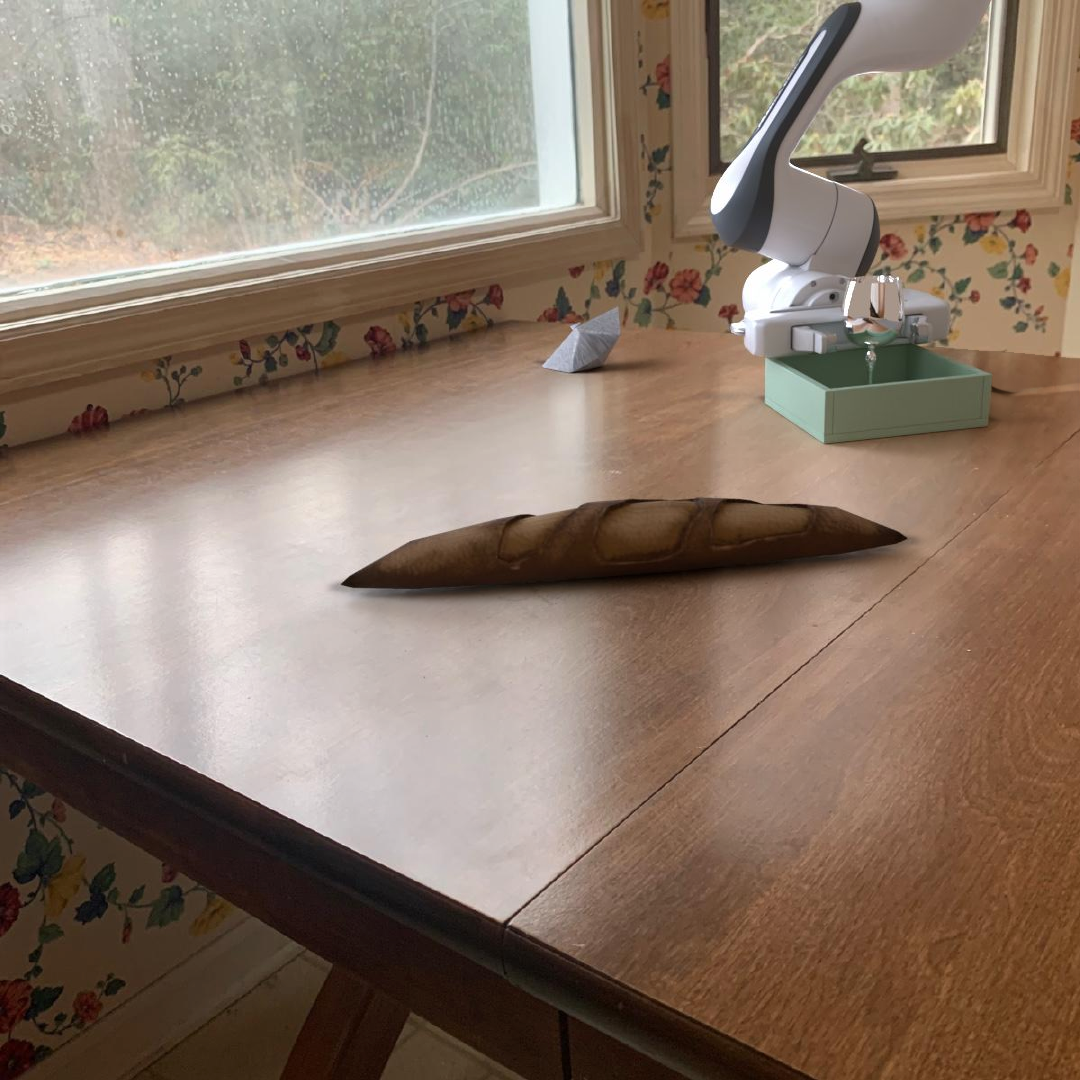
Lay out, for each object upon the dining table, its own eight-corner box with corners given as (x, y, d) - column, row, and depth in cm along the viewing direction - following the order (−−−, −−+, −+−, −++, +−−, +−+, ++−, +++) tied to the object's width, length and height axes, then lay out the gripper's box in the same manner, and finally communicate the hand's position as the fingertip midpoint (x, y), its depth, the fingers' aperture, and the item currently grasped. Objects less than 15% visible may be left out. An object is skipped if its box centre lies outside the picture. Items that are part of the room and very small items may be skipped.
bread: (337, 610, 70) (327, 538, 68) (346, 580, 75) (336, 511, 73) (921, 562, 71) (925, 490, 69) (893, 536, 76) (897, 467, 74)
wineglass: (906, 400, 106) (913, 275, 101) (891, 415, 101) (898, 284, 97) (847, 396, 109) (851, 274, 104) (829, 411, 104) (834, 283, 100)
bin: (909, 388, 113) (911, 342, 111) (988, 426, 99) (992, 374, 97) (764, 403, 111) (765, 357, 110) (823, 444, 97) (825, 391, 95)
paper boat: (544, 369, 128) (519, 337, 135) (570, 405, 132) (544, 372, 139) (627, 307, 127) (597, 277, 134) (650, 345, 131) (620, 315, 138)
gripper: (724, 295, 112) (770, 316, 99) (913, 277, 114) (981, 296, 102) (725, 355, 114) (770, 384, 102) (909, 337, 117) (976, 363, 104)
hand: (877, 339), depth 102 cm, fingers open, 8 cm apart
